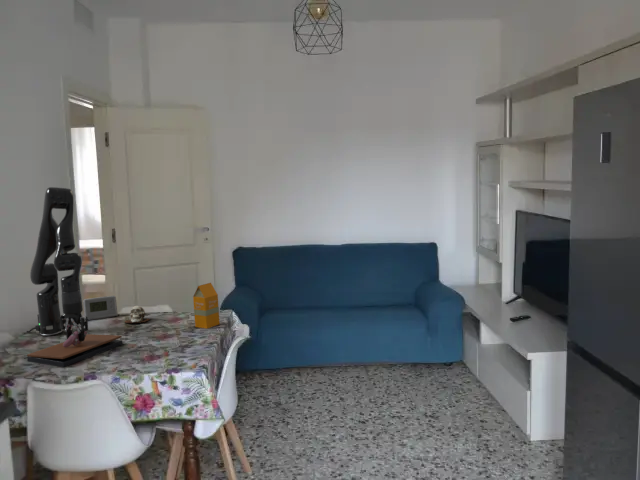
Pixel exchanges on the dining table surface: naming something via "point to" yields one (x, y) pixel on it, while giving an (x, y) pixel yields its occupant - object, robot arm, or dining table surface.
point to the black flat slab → (77, 355)
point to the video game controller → (73, 339)
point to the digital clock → (100, 307)
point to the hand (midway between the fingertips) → (75, 340)
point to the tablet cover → (74, 347)
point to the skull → (137, 315)
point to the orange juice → (206, 306)
